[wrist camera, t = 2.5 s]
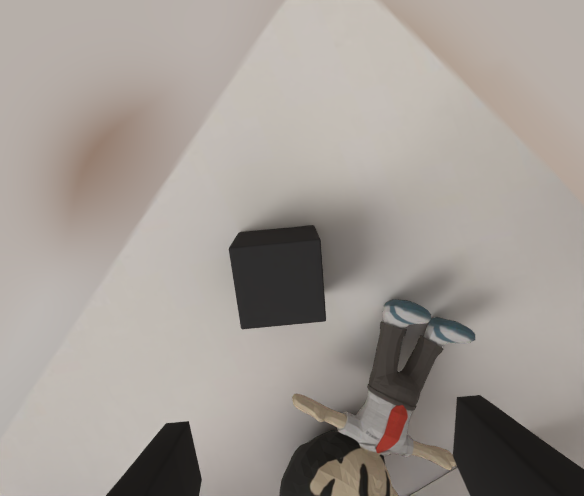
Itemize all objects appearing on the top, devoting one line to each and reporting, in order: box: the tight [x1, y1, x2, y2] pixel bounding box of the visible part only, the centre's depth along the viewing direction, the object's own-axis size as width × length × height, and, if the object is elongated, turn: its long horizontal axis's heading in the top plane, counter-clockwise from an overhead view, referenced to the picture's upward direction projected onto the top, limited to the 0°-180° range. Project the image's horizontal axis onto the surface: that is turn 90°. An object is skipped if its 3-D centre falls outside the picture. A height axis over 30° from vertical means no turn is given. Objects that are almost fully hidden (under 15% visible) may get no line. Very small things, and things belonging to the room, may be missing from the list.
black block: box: [229, 225, 326, 329], centre depth 16 cm, size 4×4×3 cm
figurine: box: [280, 300, 475, 496], centre depth 18 cm, size 10×7×15 cm
